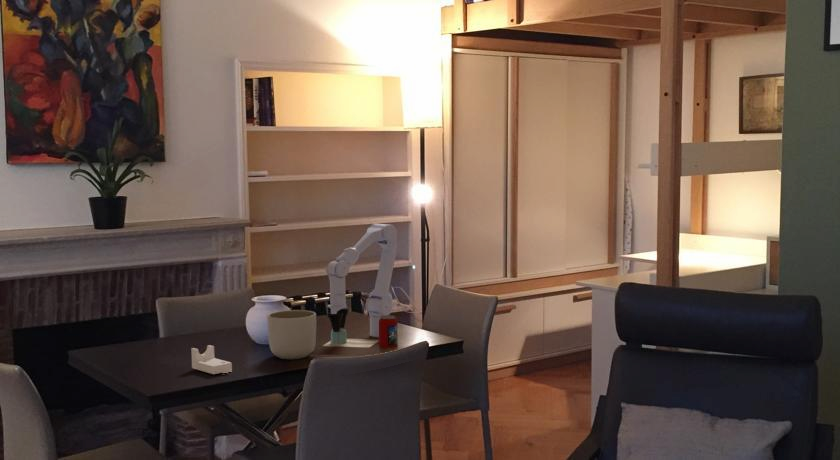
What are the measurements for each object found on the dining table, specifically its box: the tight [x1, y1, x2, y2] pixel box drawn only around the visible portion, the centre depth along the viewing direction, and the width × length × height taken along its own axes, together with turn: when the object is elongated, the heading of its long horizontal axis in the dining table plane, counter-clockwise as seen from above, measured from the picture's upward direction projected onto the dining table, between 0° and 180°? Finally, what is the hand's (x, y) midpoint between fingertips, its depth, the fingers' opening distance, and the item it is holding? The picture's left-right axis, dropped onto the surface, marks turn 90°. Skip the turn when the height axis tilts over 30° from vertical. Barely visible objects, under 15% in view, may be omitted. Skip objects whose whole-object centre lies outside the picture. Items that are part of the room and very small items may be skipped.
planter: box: [266, 309, 317, 360], centre depth 336 cm, size 17×17×15 cm
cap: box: [330, 328, 348, 344], centre depth 354 cm, size 6×6×4 cm
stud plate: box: [322, 338, 379, 349], centre depth 353 cm, size 14×18×4 cm
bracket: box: [190, 344, 233, 375], centre depth 316 cm, size 13×7×8 cm, turn 45°
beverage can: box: [378, 314, 399, 349], centre depth 346 cm, size 7×7×12 cm
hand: (338, 329), depth 354 cm, fingers open, 7 cm apart
